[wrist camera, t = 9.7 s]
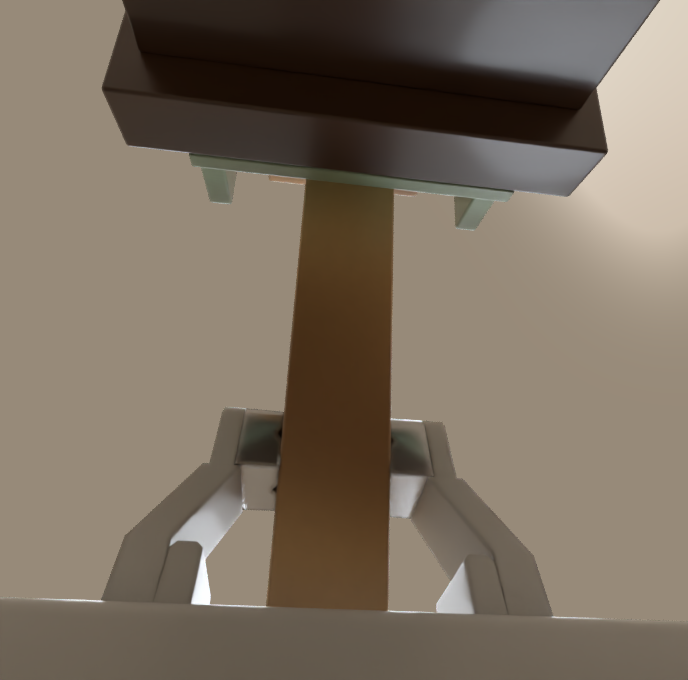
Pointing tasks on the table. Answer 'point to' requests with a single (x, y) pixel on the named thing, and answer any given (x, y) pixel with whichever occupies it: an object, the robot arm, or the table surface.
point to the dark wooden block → (374, 91)
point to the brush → (337, 406)
